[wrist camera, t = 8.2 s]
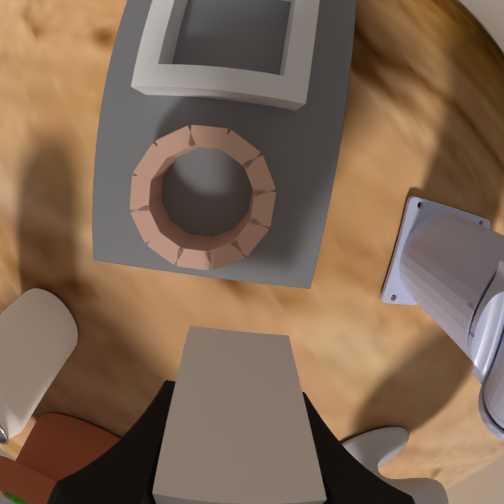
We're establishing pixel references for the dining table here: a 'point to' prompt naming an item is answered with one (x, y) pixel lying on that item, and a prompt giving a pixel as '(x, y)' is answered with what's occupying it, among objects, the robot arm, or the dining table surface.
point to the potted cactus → (51, 457)
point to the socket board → (222, 136)
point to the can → (31, 354)
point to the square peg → (237, 425)
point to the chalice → (386, 448)
